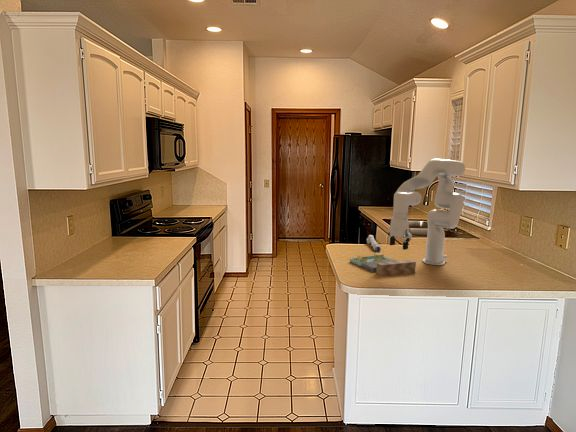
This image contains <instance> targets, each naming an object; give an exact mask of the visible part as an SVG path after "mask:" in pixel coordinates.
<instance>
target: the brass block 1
mask: <svg viewBox="0 0 576 432" xmlns="http://www.w3.org/2000/svg"><path fill="white" fill-rule="evenodd" d="M367 256H368V255H365V254H360V255H357V256H356V258H357V261H358V262H361V263H365V262H367Z"/></svg>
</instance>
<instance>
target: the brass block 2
mask: <svg viewBox="0 0 576 432" xmlns="http://www.w3.org/2000/svg"><path fill="white" fill-rule="evenodd" d="M373 255H374V260H375V261H379V260H384V257H385V256H384V255H385V254H384V253H381V252H375V253H373Z"/></svg>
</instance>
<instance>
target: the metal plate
mask: <svg viewBox="0 0 576 432" xmlns="http://www.w3.org/2000/svg"><path fill="white" fill-rule="evenodd" d="M395 261H398V260H396V259H393V258H390V259H387V260H379V261H372V262H365V263H362V267H361V268H362V269H364V268H365V269H364V270H367V271H369V272H371V271H372V273H376V268H377V263H383V262H395Z"/></svg>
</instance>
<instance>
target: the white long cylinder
mask: <svg viewBox="0 0 576 432" xmlns="http://www.w3.org/2000/svg"><path fill="white" fill-rule="evenodd" d="M366 244H367V245H372V246H371V247H372V248H373V251H375V253H380V251H381V250H382V249H381V245H380V244H379V243H378V242H377V241H376V240H375V237H374V235H373V234H369V235H368V236H367V238H366Z"/></svg>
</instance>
